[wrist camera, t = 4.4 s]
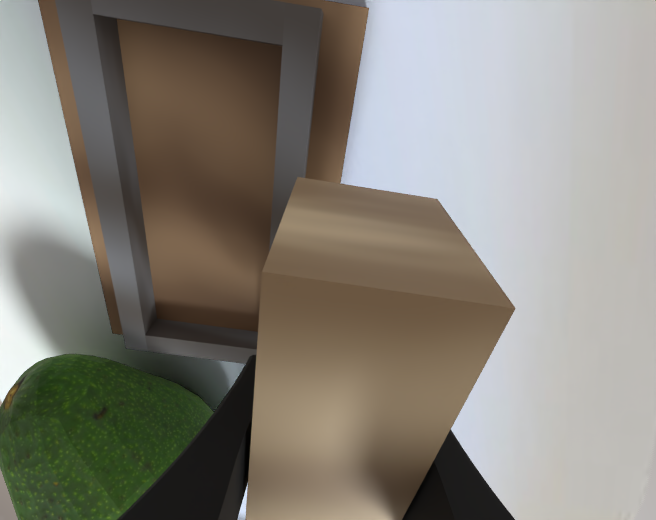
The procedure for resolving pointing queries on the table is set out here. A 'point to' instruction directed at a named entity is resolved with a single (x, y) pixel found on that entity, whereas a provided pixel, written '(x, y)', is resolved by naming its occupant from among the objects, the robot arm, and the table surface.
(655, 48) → the table surface
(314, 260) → the wooden block
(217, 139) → the channel
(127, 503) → the fruit
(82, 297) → the table surface
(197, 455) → the robot arm
